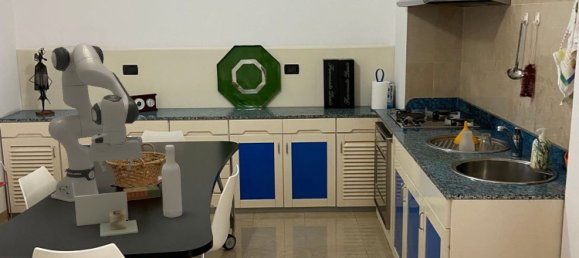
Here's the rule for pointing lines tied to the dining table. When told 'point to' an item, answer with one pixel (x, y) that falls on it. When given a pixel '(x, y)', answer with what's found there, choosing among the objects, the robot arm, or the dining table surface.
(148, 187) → the carton
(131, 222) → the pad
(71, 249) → the dining table surface
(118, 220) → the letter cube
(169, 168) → the bottle
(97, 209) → the screen
